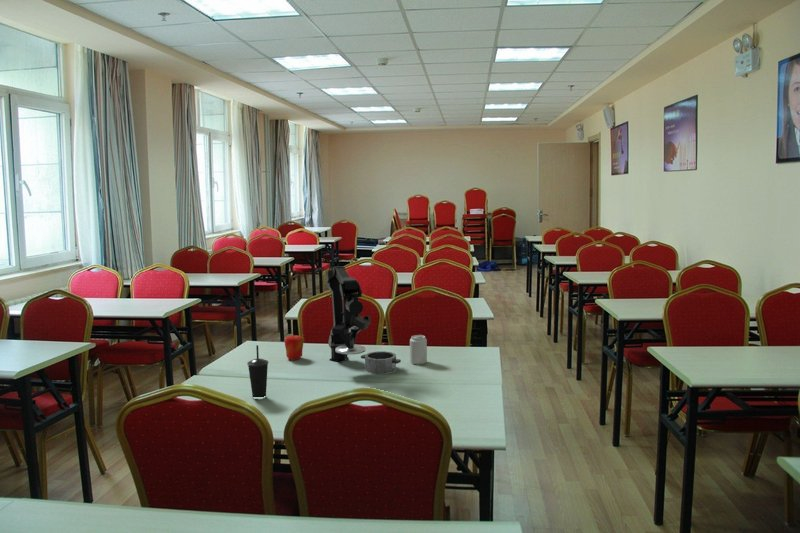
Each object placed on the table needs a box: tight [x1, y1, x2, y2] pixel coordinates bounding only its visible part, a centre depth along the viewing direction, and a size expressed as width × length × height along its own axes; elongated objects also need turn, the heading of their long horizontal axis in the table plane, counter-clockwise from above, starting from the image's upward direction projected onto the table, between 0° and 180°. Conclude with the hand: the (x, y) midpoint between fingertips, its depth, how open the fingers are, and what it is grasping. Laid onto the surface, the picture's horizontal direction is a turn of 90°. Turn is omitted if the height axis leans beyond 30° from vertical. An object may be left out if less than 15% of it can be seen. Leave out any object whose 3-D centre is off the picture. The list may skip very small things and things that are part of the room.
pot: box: [360, 350, 402, 375], centre depth 272 cm, size 18×13×6 cm
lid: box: [335, 337, 367, 355], centre depth 265 cm, size 13×13×5 cm
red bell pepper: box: [284, 333, 304, 361], centre depth 289 cm, size 9×8×12 cm
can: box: [409, 334, 428, 366], centre depth 281 cm, size 8×8×12 cm
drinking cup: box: [247, 345, 269, 398], centre depth 236 cm, size 8×8×20 cm
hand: (350, 346), depth 266 cm, fingers closed on lid, 3 cm apart
